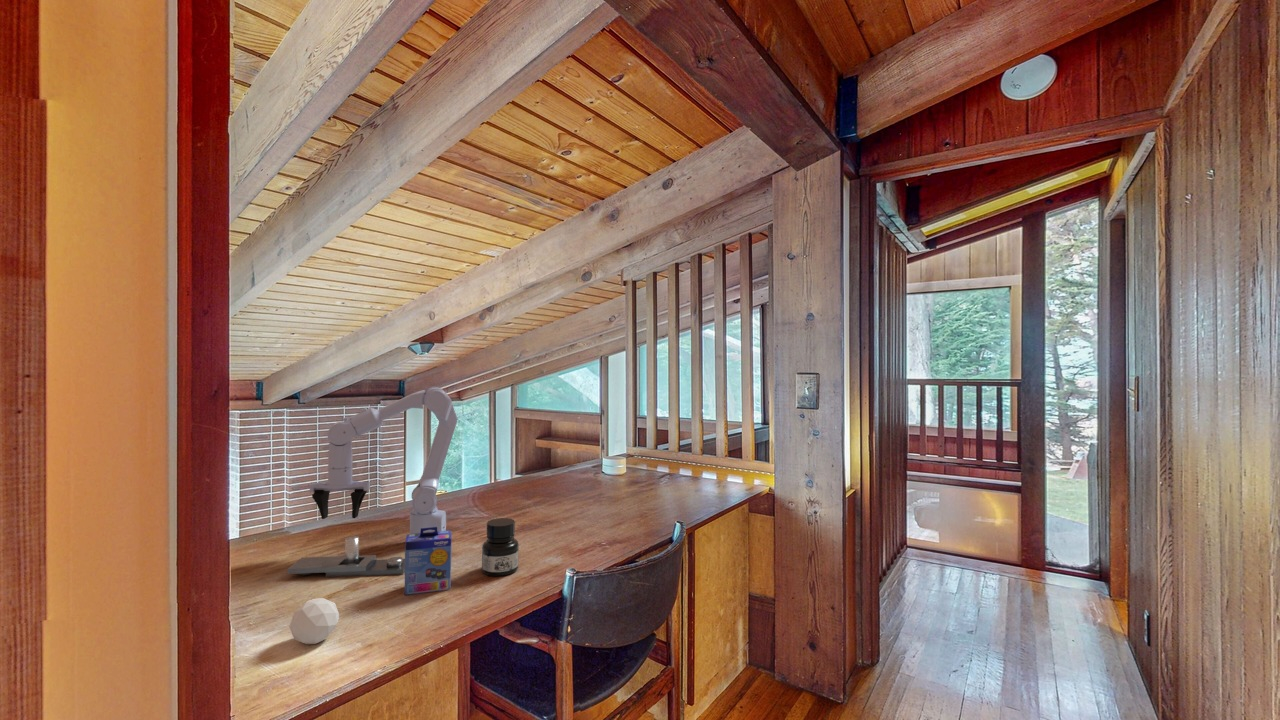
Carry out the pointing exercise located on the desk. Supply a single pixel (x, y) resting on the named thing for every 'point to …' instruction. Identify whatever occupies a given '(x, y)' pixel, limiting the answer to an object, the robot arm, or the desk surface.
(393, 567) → the end link lower
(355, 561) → the steel pin
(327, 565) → the end link upper
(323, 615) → the ball
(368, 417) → the robot arm
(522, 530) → the desk surface
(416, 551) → the ink cartridge box
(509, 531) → the ink bottle
